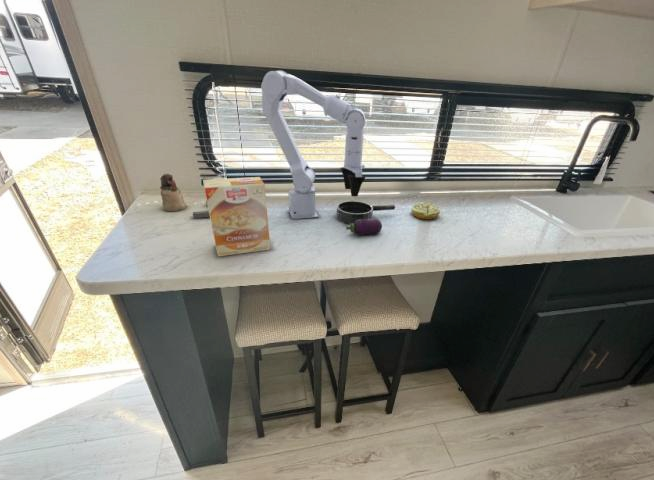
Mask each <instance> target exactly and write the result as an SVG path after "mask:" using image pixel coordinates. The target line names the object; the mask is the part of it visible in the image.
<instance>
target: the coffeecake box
mask: <svg viewBox="0 0 654 480" xmlns="http://www.w3.org/2000/svg"><path fill="white" fill-rule="evenodd" d="M202 181H203V182H202V183H203V189H204V194H205V199H206V200H207V203H206V205H207V204H208V205H207V209H208V211H209V215H210V217H209V220H210V224H211V229H212V230H211V231H212V235H213V240H214V244H215V250H216V254H217V257H219V258H220V257H226V256H233V255H239V254H240V255H241V254H247V253H255V252H261V251H270V250H271V240H270V238H271V237H270V230H269V229H270V228H269V218H268V217H269V216H268V206H267V194H266V185H265V183H264V181H263V180H262V178H261V176H251V177H249V176H248V177H232V178H231V177H230V178H211V179H203V180H202Z"/></svg>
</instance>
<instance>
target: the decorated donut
mask: <svg viewBox="0 0 654 480" xmlns="http://www.w3.org/2000/svg"><path fill="white" fill-rule="evenodd" d="M410 212H411V213H412V214H413V216H415V217H416V218H417V219H420V220H434V219H436V218H437V217H438V216H439V215H440V214H441V209H440V207H439V206H438V205H436V204H434V203H430V202H427V201H422V202H417V203H414V204H413V205H412V207H411V209H410Z"/></svg>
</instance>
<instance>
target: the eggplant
mask: <svg viewBox="0 0 654 480" xmlns="http://www.w3.org/2000/svg"><path fill="white" fill-rule="evenodd" d="M345 229H346V230H349V231H350V232H351V233H355V234H356V235H359V236H365V235H375V234H379V233H380V232H381V231H382V229H383V223H382V221H381V220H380V219H378V218H375V217H374V218H373V217H372V219H359V220H357V221H355V222H354V224H353V223H351V224H349V226H345Z"/></svg>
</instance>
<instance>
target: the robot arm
mask: <svg viewBox="0 0 654 480" xmlns="http://www.w3.org/2000/svg"><path fill="white" fill-rule="evenodd" d="M260 89H261V107H262V113H263V114H264V117H265V119H266V120H267V122H268V124H269V127H270V129H271V130H272V133H273V135H274V137H275V139H276V140H277V143H278V145H279V147H280V149H281V151H282V153H283V156H284V157H285V159H286V161H287V163H288V165H289V168H290V169H289V170H290V175H291V177H292V184H293V187H294V188H293V189H291V190H288V193H287V194H288V197H287V198H288V212H289V215H290V218H291V219H292V220H297V219H313V218H314V219H315V218H319V215H318V213H317V211H316V188H315V186H314V183H315V181H316V173H315V171H314V170H313V169H312V168H311V167H310V166H309V164H308V162H307V161H306V160H305V158H303V155H302V152H301V151H300V149H299V147H298V145H297V142H296V140H295V138H294V136H293V133H292V132H291V129H290V127H289V125H288V123H287V120H286V118H285V117H284V115H283V112H282V110H281V109H282V105H283V102H284V99H285V97H286V96H287V95H299V96H301V97H302V98H305V99H307V100H309V101H311V102H312V103H314V104H316V105H318V106H319V107H322V109H323V113H324V114H325V115H327V116H328V117H330V118H332V119H333V120H335V121H337V122H339V123H340V124H342V125H344V124H345V125H346V135H345V144H344V145H345V147H344V160H343V167H340V171H341V173H342V178H343V184H344V189H345V190H350V196H351V197H358V196H359V193H360V190H361V187H362V185H363V183H364V181H365V180H366V176H365V175H363V168H364V169H365V168H366V165H365V164H364V163H363V152H364V151H363V149H364V137H365V136H364V134H365V133H364V132H365V129H364V127H365V125H366V114H365V112H364V111H363V110H362V109H361V108H360V107H358V106H356V107H355V104H353V103H351V104H350V103H348V102H347V101H345V100H344V99H342V98H341V95H340V94H338V93H337V94H334V93H332V94H329V95H326V94H324V93H322V92H321V91H320V90H318V89H316V88H315V87H314V86H312V85H310V84H308V83H307V82H305V81H304V80H303V79H300V78H298V77H297V76H295V75H292V74H290V73H288V72H286V71H284V70H282V69H281V70H280V69H279V70H271V71H267V73H266V74H265V75H264V76H263V79H262V82H261V85H260Z"/></svg>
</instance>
